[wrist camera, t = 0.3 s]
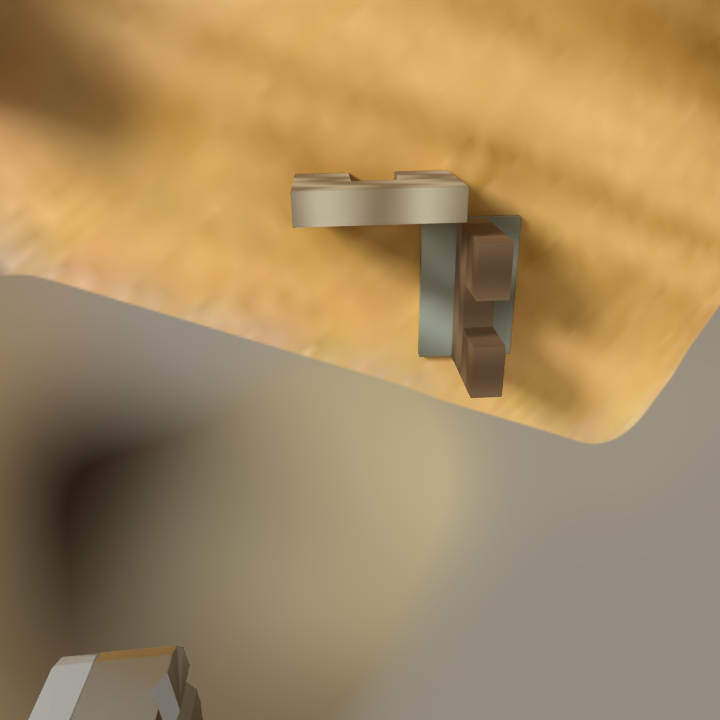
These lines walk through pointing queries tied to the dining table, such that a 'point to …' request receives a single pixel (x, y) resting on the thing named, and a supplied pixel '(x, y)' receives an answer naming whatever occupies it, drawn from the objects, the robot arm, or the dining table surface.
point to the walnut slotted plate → (469, 296)
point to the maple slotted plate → (378, 199)
